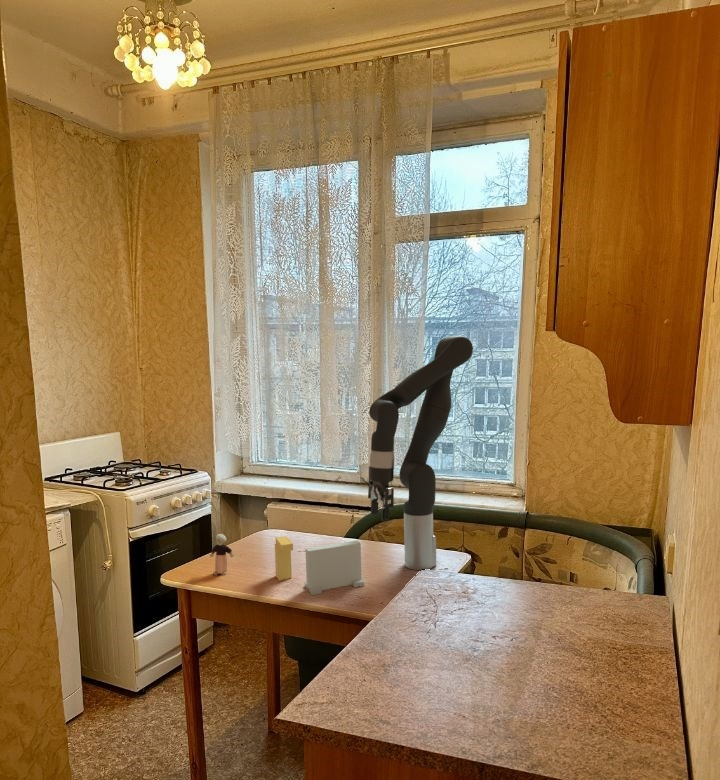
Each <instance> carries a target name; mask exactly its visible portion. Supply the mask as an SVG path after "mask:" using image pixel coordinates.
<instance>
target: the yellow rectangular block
mask: <svg viewBox="0 0 720 780" xmlns="http://www.w3.org/2000/svg"><path fill="white" fill-rule="evenodd" d="M293 550H294V544H293V542H292V541H291V539H290V538H289V537H288V536H286V535H285V536H284V535H283V536H278V537H277V536H276V537H275V544H274V563H275V564H274V567H275V577H276V578H278V579H277V580H278V581H284V579H285V580H290V579H289V578H291V579H292V577H293V576H292V552H293Z"/></svg>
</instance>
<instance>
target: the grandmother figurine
mask: <svg viewBox="0 0 720 780" xmlns="http://www.w3.org/2000/svg"><path fill="white" fill-rule="evenodd" d="M226 541H227V537H226V536H225V535H224V534H223V533H218V534H216V535H215V542H216V545H214V546H213V547H212V549H211V552H210V555H209V557H210V558H214V559H215V560H214V561H215V564H214V566H215V567H214V571H213V573H212V575H213V574H214V575H213V576H216V575H217V574H218V575H219V574H220V576H226V574H227V575H228V573H229V572H228V558H227V557H228V556H227V554H228V555H229V556H230V558H234V556H235V555H234V553H233V550H232V548H230V547H229V546H228V545H225V542H226ZM214 555H215V557H214ZM218 575H217V576H218Z"/></svg>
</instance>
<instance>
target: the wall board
mask: <svg viewBox="0 0 720 780" xmlns="http://www.w3.org/2000/svg"><path fill="white" fill-rule="evenodd" d="M343 542H344V543H341V542H336V543H337V544H334V543H331V544H326V545H317V546H312V547H305V572H306V573H305V574H306V581H305V582H304V587H305V588H306V589H307V591H308V593H310V595H311V596H315V595H321V594H322V592H323V591H325V590H332V589H336V588H341V587H342V586H343V587H348V586H352V587H354V588H360V587H363V586H364V587H365V581H364V580H363V579H362V548H361V547H362V543H361V542H360V541H359V540H352V541H343ZM359 586H360V587H359ZM343 587H342V588H343ZM331 588H332V589H331Z"/></svg>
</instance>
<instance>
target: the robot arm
mask: <svg viewBox="0 0 720 780" xmlns="http://www.w3.org/2000/svg"><path fill="white" fill-rule="evenodd" d="M473 347H474V346H473V343H472V342H471V340H470V339H469V338H468V337H466V336H463V335H450V336H445V337H443V338H441V340H439V342H438V344H437V346H436V348H435V352H434V358H433V359H432V361H430V362H429V363H427V364H426V365H424V366H422V367H420V368H419V369H417V370H416V371H413V372H412V373H410V374H409V375H408V376H407V377H405V378H404V379H403V380H401V381H400V382H399V383H398V384H397V385H396V386H395V387H394V388H392V389H391V390H389V391H387V392H385V393H383V395H381V396H379V397H378V398H377V399H376V400H375V401H373V402H372V403H371V405H370V407H369V411H368V412H369V416H370V419H371V420H373V421H375V422H376V428H375V431H373V433H372V434H371V441H370V443H371V444H370V454H369V455H370V456H369V470H368V479H369V480H368V490H367V492H368V494H367V498H368V499H369V501H370V514H371V515H378V514H379V503H380V505H381V508H382V509H381V521H382V522H389V521H390V511H391V510H390V509H394V504H395V503H394V502H395V501H394V500H395V499H394V498H395V497H394V495H395V493H394V491H395V490H394V487H390V485H389V483H391V482H393V481H394V473H395V471H394V470H395V455H394V453H395V435H396V433H397V427H398V424H399V418H400V417H399V416H400V414H399V413H400V411H399V409H400V408H403V407H408V406H409V405H410V404H412V403H413V402H414V401H415V400H417V399H418V398H419V397H420V396H421V395H422V394H423V393H425V395H424V398H423V400H422V402H421V403H422V404H421V406H420V409H419V414H418V417H417V422H416V425H415V427H414V430H413V435H412V438H411V441H410V444H409V446H408V450H407V451H406V454H405V456H404V458H403V461H402V464H401V465H400V470H399V480H400V483H401V484H402V486H404V487H405V488H407V489H408V500H407V501H405V502H404V503H403V530H404V531H403V532H404V533H403V535H404V537H403V539H404V566H405V567H406V568H407V569H411V570H415V571H423V570H422V569H426V570H430V569H431V568H433V567H436V566H437V537H436V535H434V506H435V504H436V486H437V485H436V484H437V483H436V482H437V481H436V479H437V478H436V472H435V469H433V467H432V466H431V465H430V464H427V462H428V458H429V454H430V451H431V449H432V447H433V445H434V444H435V443H436V441H437V440H438V439H439V437H440V435H441V434H442V433H443V431H444V429H445V427H446V425H447V423H448V419H449V416H450V412H451V408H452V393H451V381H452V376H453V373H454V370H455V369H458V367H460V366H461V365H463V364H465V363H467V361H469V360H470V359H471V357H472V355H473V352H474V348H473Z"/></svg>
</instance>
